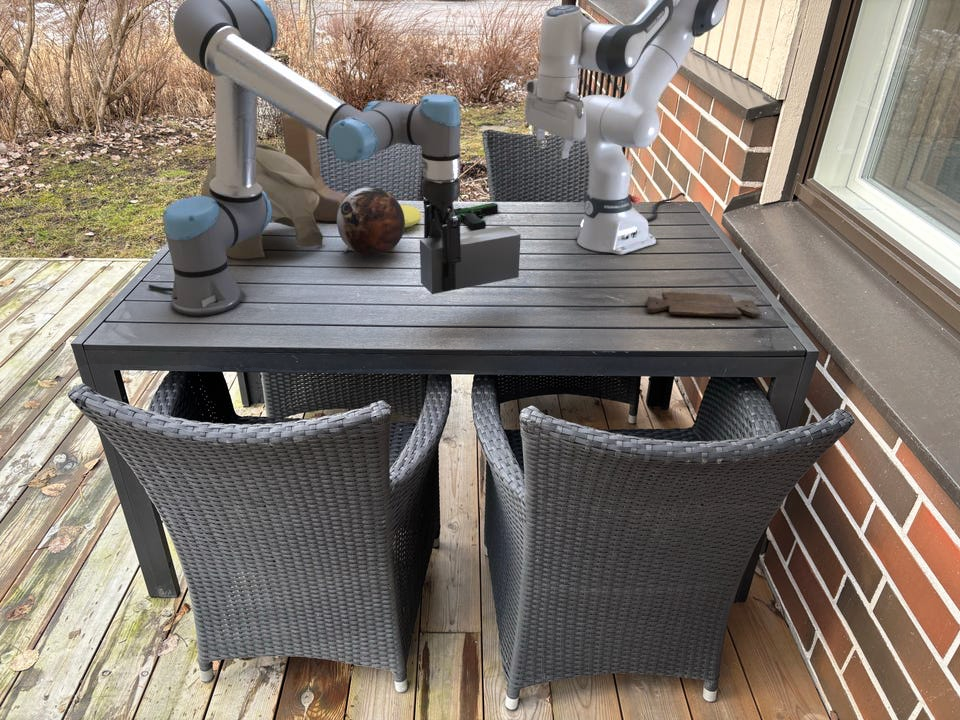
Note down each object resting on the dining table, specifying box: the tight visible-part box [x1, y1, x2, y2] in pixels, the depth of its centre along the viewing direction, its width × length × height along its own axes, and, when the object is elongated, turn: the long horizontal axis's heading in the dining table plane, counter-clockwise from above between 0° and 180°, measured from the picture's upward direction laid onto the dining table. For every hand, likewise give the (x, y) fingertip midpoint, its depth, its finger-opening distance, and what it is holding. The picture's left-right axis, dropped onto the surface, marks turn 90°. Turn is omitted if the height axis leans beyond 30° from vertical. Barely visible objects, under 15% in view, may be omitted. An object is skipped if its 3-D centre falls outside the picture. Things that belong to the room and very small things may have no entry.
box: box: [419, 224, 522, 295], centre depth 155 cm, size 21×6×10 cm, turn 117°
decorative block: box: [280, 114, 348, 223], centre depth 209 cm, size 8×15×30 cm, turn 82°
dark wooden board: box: [646, 291, 762, 318], centre depth 167 cm, size 26×2×10 cm
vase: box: [400, 204, 423, 229], centre depth 210 cm, size 16×16×7 cm
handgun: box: [454, 202, 499, 231], centre depth 216 cm, size 16×3×15 cm
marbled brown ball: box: [336, 186, 406, 257], centre depth 189 cm, size 22×18×20 cm
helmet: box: [200, 141, 324, 260], centre depth 189 cm, size 27×30×30 cm
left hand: (442, 283), depth 154 cm, fingers closed on box, 6 cm apart
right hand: (552, 152), depth 163 cm, fingers open, 8 cm apart
